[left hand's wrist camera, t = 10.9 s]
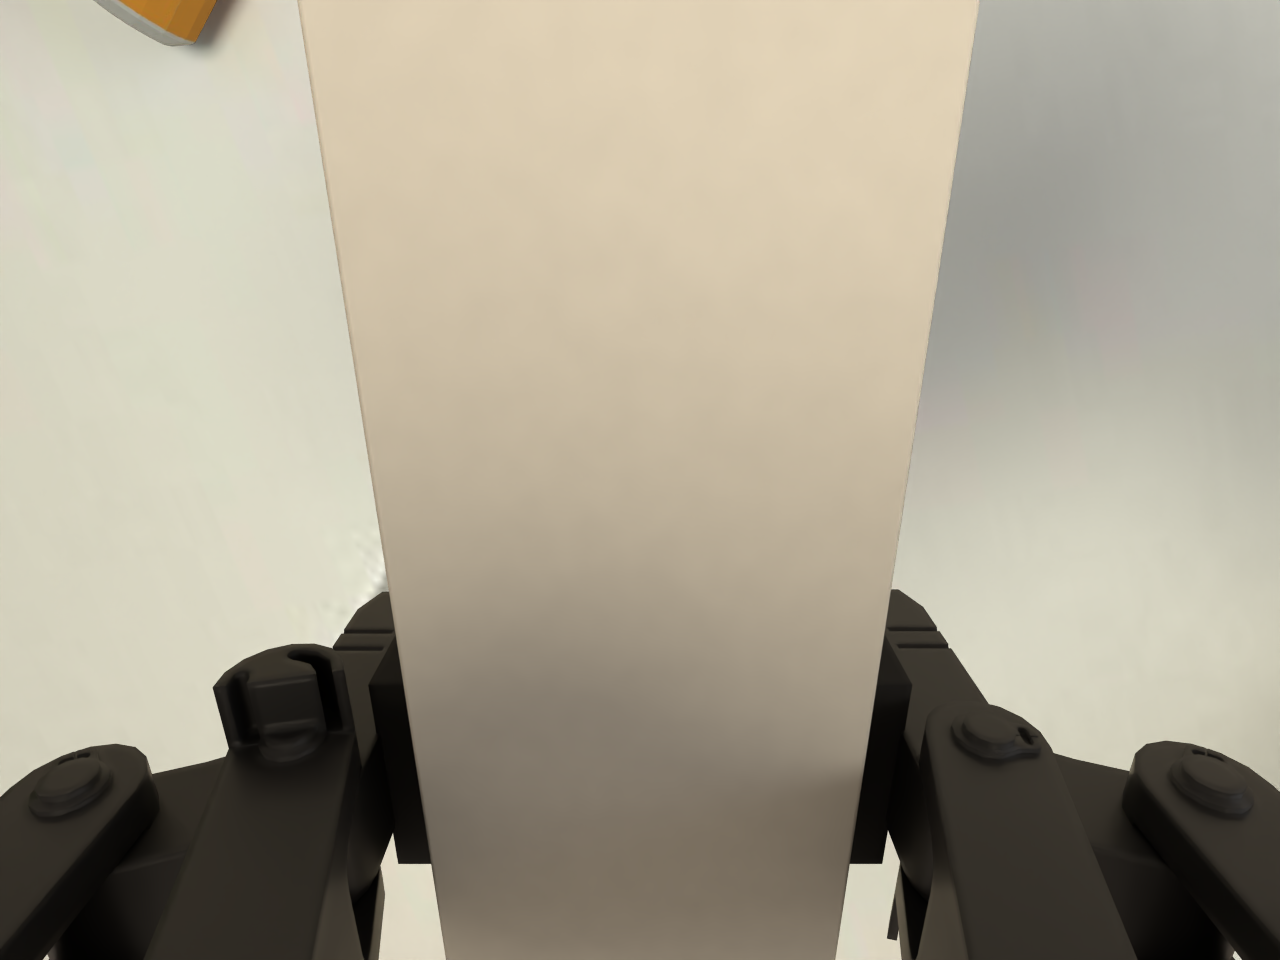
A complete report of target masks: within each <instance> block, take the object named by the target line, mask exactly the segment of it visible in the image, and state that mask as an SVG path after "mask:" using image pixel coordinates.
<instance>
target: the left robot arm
mask: <svg viewBox="0 0 1280 960" xmlns="http://www.w3.org/2000/svg"><path fill="white" fill-rule="evenodd" d="M213 691H214V694H215V698H216V702H217V706H218V709H219V713H220V717H221V721H222V724H223V728H224V732H225V736H226V739H227V743H228V747H229V750H228V752H227V755H226V757H222V758H219V759H215V760H212V761H209V762H205V763H200V764H196V765H191V766H187V767H182V768H178V769H173V770H169V771H164V772H160V773H155V774H152V773H151V770H150V767H149V763H148V760H147V757H146V756H145V755H144V754H143V753H142V752H140V751H139V750H138V749H137V748H136V747H132V746H126V745H120V744H110V745H102V746H93V747H88V748H85V749H82V750H78V751H76V752H72V753H69V754H66V755H63V756H61V757H59V758H57V759H55V760H53V761H51V762H49V763H47V764H45V765H43V766H41V767H39V768H37V769H35V770H33V771H32V772H31V773H29V774H28V775H27V776H25V777H24V778H23V779H21V780H20V781H19V782H18V783H16V784H15V785H14V786H12V787H11V788H10V789H9V790H7V791H6V792H5V793H4V794H3V795H2V796H1V797H0V960H43V959H44V957H45V956H46V955H47V954H48V957H49V960H378V959H379V949H380V939H381V929H382V919H383V909H384V899H385V891H384V884H383V877H382V872H381V866H380V865H381V862H382V860H383V857H384V854H385V852H386V849H387V847H388V844H389V841H390V839H391V836H392V834H393V835H394V841H395V847H396V853H397V858H398V864H431V859H430V852H429V846H428V839H427V833H426V826H425V820H424V813H423V807H422V801H421V794H420V788H419V781H418V775H417V768H416V762H415V755H414V749H413V742H412V736H411V730H410V723H409V717H408V710H407V704H406V697H405V691H404V684H403V678H402V672H401V665H400V659H399V652H398V646H397V639H396V633H395V626H394V620H393V613H392V607H391V601H390V594H389V592H382V593H380V594H379V595H377V596H376V597H374V598H373V599H372V600H370V601H369V602H367V603H366V604H365V605H363V606H362V607H360V608H359V609H358V610H357V611H356V613H355V614H354V616H353V617H352V619H351V620H350V622H349V623H348V625H347V626H346V628H345V629H344V634H341V635H340V637H339V638H338V640H337V641H336V643H335V644H334V646H333V649H332V648H329V647H325V646H321V645H317V644H290V645H286V646H281V647H277V648H272V649H268V650H265V651H263V652H260V653H258V654H256V655H253V656H251V657H248V658H246V659H244V660H242V661H241V662H239V663H238V664H236V665H235V666H234V667H232V668H231V669H229V670H228V671H226V672H225V673H224V674H223V675H222V677H221V678H220V679H219V680H218V681H217V683H216V684H215V685H214V686H213ZM888 831H889V834H890V836H891V839H892V842H893V844H894V847H895V849H896V852H897V855H898V857H899V860H900V866H899V872H898V877H897V883H896V888H895V894H894V899H893V905H892V910H891V916H890V921H889V928H888V935H887V939H892V940H897V936H898V930H899V937H900V947H901V957H902V960H1235V959H1234V958H1233V954H1234V951H1236V952H1237V954H1238V955H1239V956H1240V958H1241V959H1242V960H1280V792H1279V791H1278V790H1277V789H1276V788H1275V787H1274V786H1273V785H1271V784H1270V783H1269V782H1267V781H1266V780H1265V779H1263V778H1262V777H1261V776H1259V775H1258V774H1257V773H1255V772H1254V771H1253V770H1251V769H1250V768H1249V767H1247V766H1245V765H1243V764H1241V763H1239V762H1237V761H1235V760H1233V759H1231V758H1229V757H1227V756H1225V755H1223V754H1221V753H1219V752H1216V751H1213V750H1210V749H1206V748H1204V747H1200V746H1197V745H1194V744H1189V743H1180V742H1172V741H1162V742H1156V743H1150V744H1146V745H1145V746H1143V747H1142V748H1141V749H1140V750H1139V751H1138V752H1137V753H1135V756H1134V759H1133V762H1132V766H1131V769H1130V771H1126V770H1121V769H1117V768H1112V767H1108V766H1103V765H1099V764H1094V763H1090V762H1085V761H1081V760H1076V759H1072V758H1069V757H1065V756H1062V755H1058V754H1055V753H1053V751H1052V749H1051V747H1050V745H1049V744H1048V742H1047V741H1046V740H1045V738H1044V737H1043V735H1042V734H1041V732H1040V731H1039V730H1037V729H1036V728H1035V727H1033V726H1032V725H1031V724H1030V723H1028V722H1027V721H1026V720H1024V719H1023V718H1022V717H1020V716H1018V715H1016V714H1014V713H1011V712H1009V711H1007V710H1005V709H1003V708H1001V707H998V706H994V705H990V704H988V702H987V701H986V699H985V698H984V696H983V695H982V693H981V692H980V690H979V689H978V687H977V686H976V684H975V683H974V682H973V680H972V679H971V677H970V676H969V674H968V673H967V671H966V670H965V668H964V667H963V665H962V664H961V662H960V661H959V659H958V658H957V656H956V655H955V653H954V652H953V650H952V649H951V648H948V643H947V642H946V640H945V639H944V637H943V636H942V634H941V633H940V631H937V627H936V625H935V624H934V622H933V621H932V619H931V618H930V616H929V615H928V613H927V612H926V610H925V609H924V608H923V607H922V606H921V605H920V604H918V603H917V602H915V601H914V600H912V599H911V598H910V597H908V596H907V595H905V594H904V593H903V592H901V591H900V590H891V592H890V599H889V606H888V612H887V619H886V626H885V632H884V639H883V646H882V652H881V659H880V665H879V672H878V679H877V685H876V692H875V699H874V705H873V712H872V718H871V725H870V732H869V738H868V745H867V752H866V758H865V765H864V772H863V778H862V785H861V791H860V798H859V805H858V811H857V818H856V825H855V831H854V838H853V845H852V851H851V858H850V864H882V861H883V856H884V850H885V844H886V838H887V832H888Z"/></svg>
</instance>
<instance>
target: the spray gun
mask: <svg viewBox="0 0 1280 960" xmlns="http://www.w3.org/2000/svg"><path fill="white" fill-rule="evenodd" d="M94 1H95V2H97V3H98V4H99V5H100V6H102V7H103V8H104V9H106V10H107V11H108V12H110V13H111V14H113V15H114V16H116V17H117V18H119V19H120V20H122V21H123V22H125V23H126V24H128V25H129V26H131V27H133V28H134V29H136V30H138V31H140V32H141V33H143V34H145V35H147V36H148V37H150V38H152V39H154V40H156V41H158V42H160V43H162V44H164V45H168V46H182V45H192V44H193V43H195V42H196V40H197V38H198V36H199V34H200V32H201V30H202V28H203V26H204V25H205V23H206V21H207V19H208V17H209V15H210V13H211V11H212V9H213V7H214V5H215V3H216V1H217V0H94Z"/></svg>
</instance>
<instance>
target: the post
mask: <svg viewBox="0 0 1280 960" xmlns="http://www.w3.org/2000/svg"><path fill="white" fill-rule="evenodd" d="M297 1H298V7H299V14H300V20H301V26H302V33H303V39H304V46H305V52H306V59H307V65H308V72H309V78H310V84H311V91H312V97H313V104H314V110H315V117H316V123H317V130H318V136H319V143H320V149H321V155H322V162H323V168H324V175H325V181H326V188H327V194H328V201H329V207H330V214H331V220H332V226H333V233H334V239H335V246H336V252H337V259H338V265H339V272H340V278H341V284H342V291H343V297H344V304H345V310H346V317H347V323H348V330H349V336H350V343H351V349H352V355H353V362H354V368H355V375H356V381H357V388H358V394H359V401H360V407H361V413H362V420H363V426H364V433H365V439H366V446H367V452H368V459H369V465H370V472H371V478H372V484H373V491H374V497H375V504H376V510H377V517H378V523H379V530H380V536H381V543H382V549H383V555H384V562H385V568H386V575H387V581H388V588H389V594H390V601H391V607H392V613H393V620H394V626H395V633H396V639H397V646H398V652H399V659H400V665H401V672H402V678H403V684H404V691H405V697H406V704H407V710H408V717H409V723H410V730H411V736H412V742H413V749H414V755H415V762H416V768H417V775H418V781H419V788H420V794H421V801H422V807H423V813H424V820H425V826H426V833H427V839H428V846H429V852H430V859H431V865H432V872H433V878H434V884H435V891H436V897H437V904H438V910H439V917H440V923H441V930H442V936H443V942H444V949H445V955H446V960H835V957H836V951H837V944H838V937H839V931H840V924H841V918H842V911H843V904H844V898H845V891H846V884H847V878H848V871H849V864H850V858H851V851H852V845H853V838H854V831H855V825H856V818H857V811H858V805H859V798H860V791H861V785H862V778H863V772H864V765H865V758H866V752H867V745H868V738H869V732H870V725H871V718H872V712H873V705H874V699H875V692H876V685H877V679H878V672H879V665H880V659H881V652H882V646H883V639H884V632H885V626H886V619H887V612H888V606H889V599H890V592H891V586H892V579H893V573H894V566H895V559H896V553H897V546H898V539H899V533H900V526H901V519H902V513H903V506H904V500H905V493H906V486H907V480H908V473H909V466H910V460H911V453H912V447H913V440H914V433H915V427H916V420H917V413H918V407H919V400H920V393H921V387H922V380H923V374H924V367H925V360H926V354H927V347H928V340H929V334H930V327H931V320H932V314H933V307H934V301H935V294H936V287H937V281H938V274H939V267H940V261H941V254H942V248H943V241H944V234H945V228H946V221H947V214H948V208H949V201H950V194H951V188H952V181H953V175H954V168H955V161H956V155H957V148H958V141H959V135H960V128H961V121H962V115H963V108H964V102H965V95H966V88H967V82H968V75H969V68H970V62H971V55H972V49H973V42H974V35H975V29H976V22H977V15H978V9H979V2H980V0H297Z"/></svg>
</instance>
